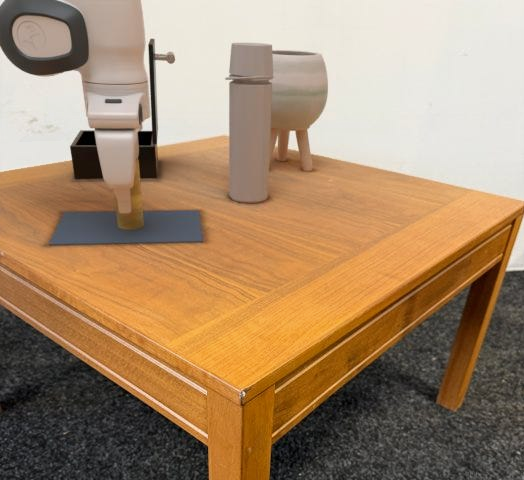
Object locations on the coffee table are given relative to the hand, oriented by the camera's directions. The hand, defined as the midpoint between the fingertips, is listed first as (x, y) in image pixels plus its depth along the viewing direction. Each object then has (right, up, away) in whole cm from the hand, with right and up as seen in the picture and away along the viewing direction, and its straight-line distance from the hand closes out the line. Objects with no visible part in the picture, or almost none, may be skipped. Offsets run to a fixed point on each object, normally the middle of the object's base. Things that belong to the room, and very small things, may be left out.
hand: (127, 201), depth 84 cm
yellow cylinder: (0, -3, +2) cm, 4 cm away
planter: (+25, +17, +37) cm, 48 cm away
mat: (0, -4, +2) cm, 4 cm away
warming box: (-9, +14, +29) cm, 34 cm away
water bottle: (+18, +5, +18) cm, 25 cm away
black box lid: (-1, +27, +22) cm, 35 cm away
